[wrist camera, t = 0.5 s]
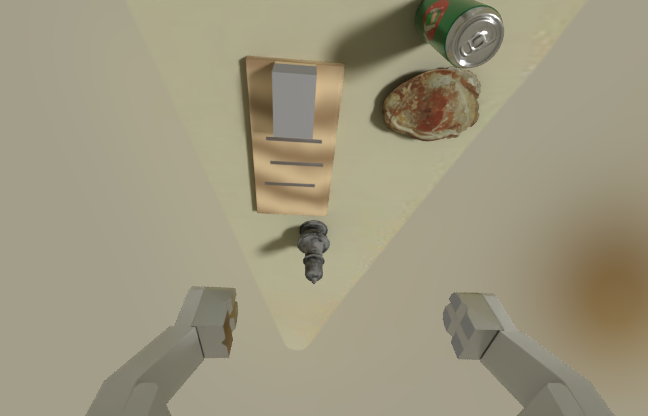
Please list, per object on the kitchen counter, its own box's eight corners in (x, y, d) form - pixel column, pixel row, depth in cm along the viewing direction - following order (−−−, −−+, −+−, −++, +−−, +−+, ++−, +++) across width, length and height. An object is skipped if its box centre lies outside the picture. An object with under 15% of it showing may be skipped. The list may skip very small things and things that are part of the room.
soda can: (465, 19, 36) (516, 47, 27) (425, 48, 38) (460, 83, 29) (447, -23, 34) (498, -8, 24) (406, 11, 35) (438, 36, 26)
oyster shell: (486, 56, 40) (497, 63, 37) (470, 129, 46) (479, 139, 44) (381, 69, 40) (386, 77, 38) (380, 139, 46) (384, 150, 44)
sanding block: (275, 61, 37) (272, 71, 34) (316, 64, 38) (316, 75, 35) (276, 122, 43) (273, 136, 40) (312, 125, 43) (312, 139, 40)
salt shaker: (300, 217, 56) (298, 270, 47) (332, 221, 57) (336, 275, 48) (295, 239, 60) (292, 292, 51) (325, 242, 61) (327, 296, 52)
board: (247, 55, 38) (245, 58, 37) (344, 63, 39) (344, 66, 38) (258, 208, 54) (257, 213, 53) (326, 211, 55) (326, 215, 54)
